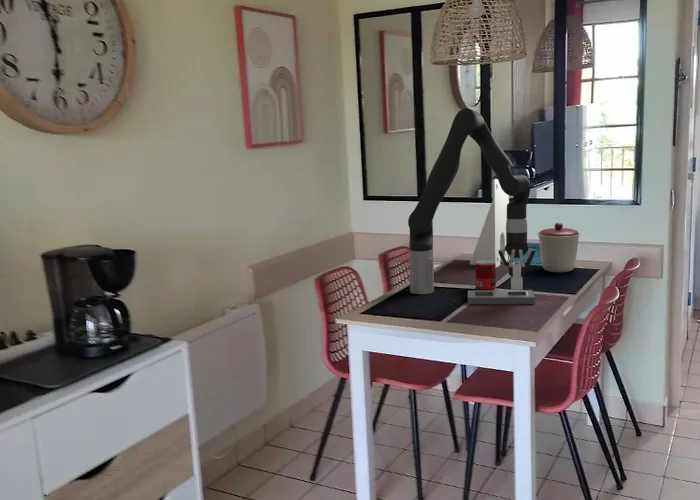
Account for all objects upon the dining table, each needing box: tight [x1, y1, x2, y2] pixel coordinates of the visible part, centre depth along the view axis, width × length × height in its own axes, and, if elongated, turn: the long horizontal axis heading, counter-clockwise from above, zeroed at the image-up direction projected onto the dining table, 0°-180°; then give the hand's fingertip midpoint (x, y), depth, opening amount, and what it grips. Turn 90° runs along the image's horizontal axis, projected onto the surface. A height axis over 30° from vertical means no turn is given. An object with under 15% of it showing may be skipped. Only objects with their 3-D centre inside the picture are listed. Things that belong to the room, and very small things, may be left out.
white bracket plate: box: [469, 178, 510, 268], centre depth 323 cm, size 20×14×40 cm
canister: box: [536, 222, 581, 273], centre depth 302 cm, size 18×18×21 cm
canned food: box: [474, 260, 497, 290], centre depth 276 cm, size 8×8×11 cm
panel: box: [467, 289, 536, 305], centre depth 258 cm, size 24×11×3 cm, turn 80°
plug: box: [510, 260, 524, 290], centre depth 256 cm, size 4×4×10 cm
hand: (516, 276), depth 255 cm, fingers closed on plug, 3 cm apart
